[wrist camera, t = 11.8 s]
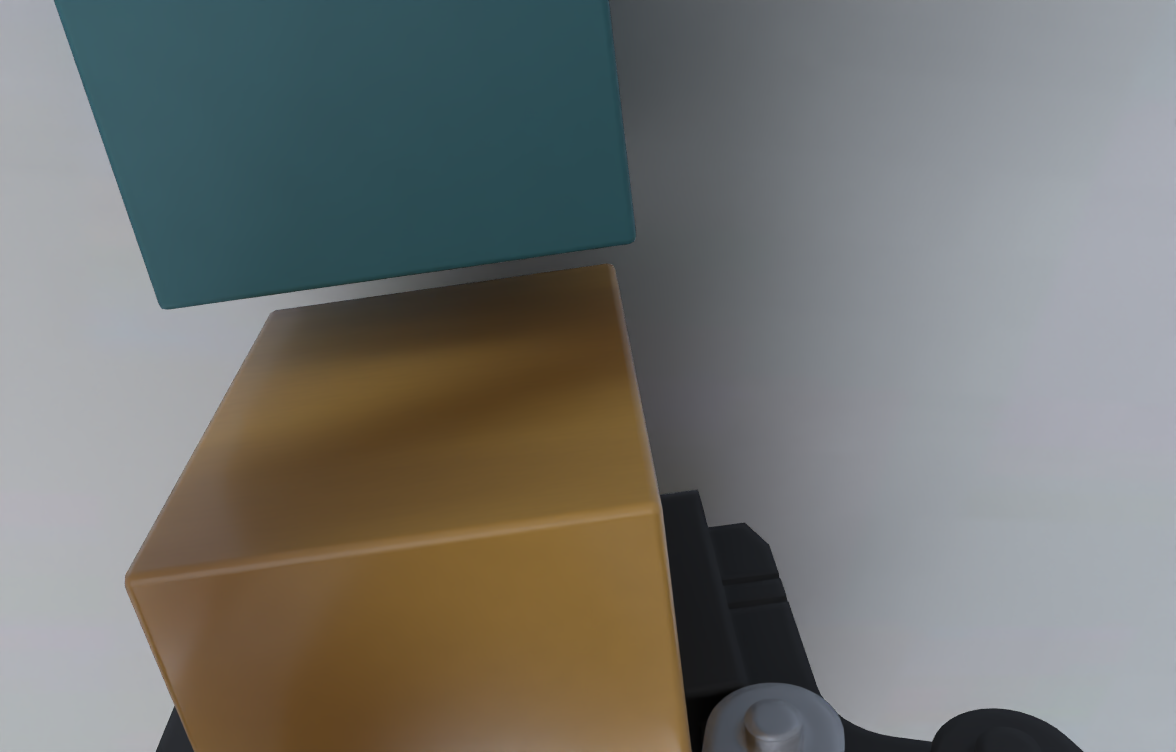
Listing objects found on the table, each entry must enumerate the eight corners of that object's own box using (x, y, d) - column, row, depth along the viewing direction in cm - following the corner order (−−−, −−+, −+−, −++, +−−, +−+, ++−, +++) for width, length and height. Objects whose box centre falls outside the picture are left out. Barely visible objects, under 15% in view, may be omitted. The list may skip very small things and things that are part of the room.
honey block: (614, 259, 12) (661, 505, 8) (678, 760, 16) (737, 1124, 11) (269, 308, 12) (116, 581, 8) (413, 795, 16) (365, 1172, 11)
